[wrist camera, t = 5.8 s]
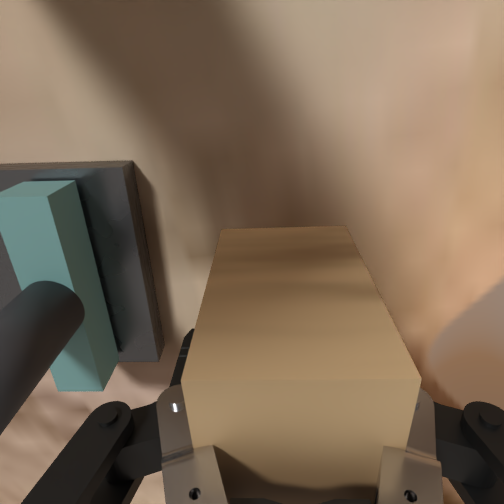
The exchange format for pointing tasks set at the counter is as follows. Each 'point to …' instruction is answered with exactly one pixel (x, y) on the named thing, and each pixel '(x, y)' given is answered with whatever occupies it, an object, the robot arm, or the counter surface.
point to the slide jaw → (51, 297)
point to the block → (296, 368)
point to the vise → (104, 248)
